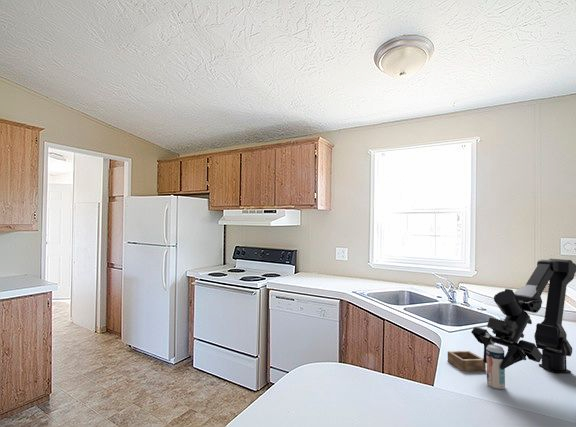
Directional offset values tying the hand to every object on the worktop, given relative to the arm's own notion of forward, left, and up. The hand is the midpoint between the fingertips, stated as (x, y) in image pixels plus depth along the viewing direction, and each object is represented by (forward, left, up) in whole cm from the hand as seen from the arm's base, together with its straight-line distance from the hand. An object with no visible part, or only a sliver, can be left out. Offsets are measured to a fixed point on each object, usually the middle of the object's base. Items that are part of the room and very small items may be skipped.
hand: (492, 365), depth 98 cm
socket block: (-3, -16, -7) cm, 17 cm away
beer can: (-1, 0, -7) cm, 7 cm away
